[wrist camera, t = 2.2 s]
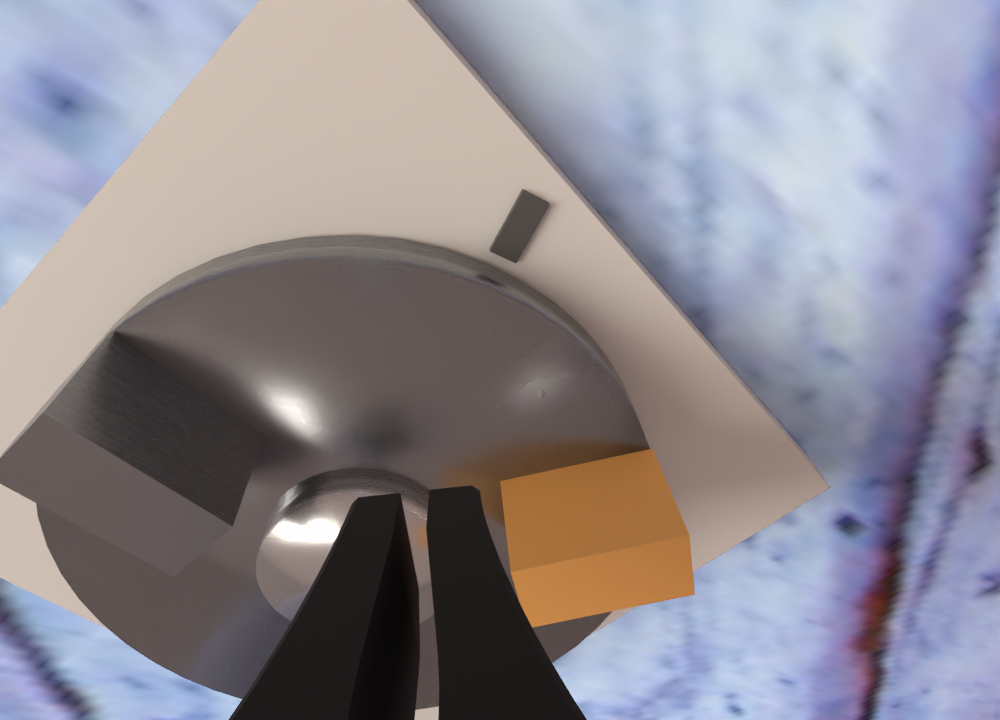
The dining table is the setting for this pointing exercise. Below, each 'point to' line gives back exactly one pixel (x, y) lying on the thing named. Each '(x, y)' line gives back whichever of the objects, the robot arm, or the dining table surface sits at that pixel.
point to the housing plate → (386, 214)
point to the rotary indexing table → (339, 450)
